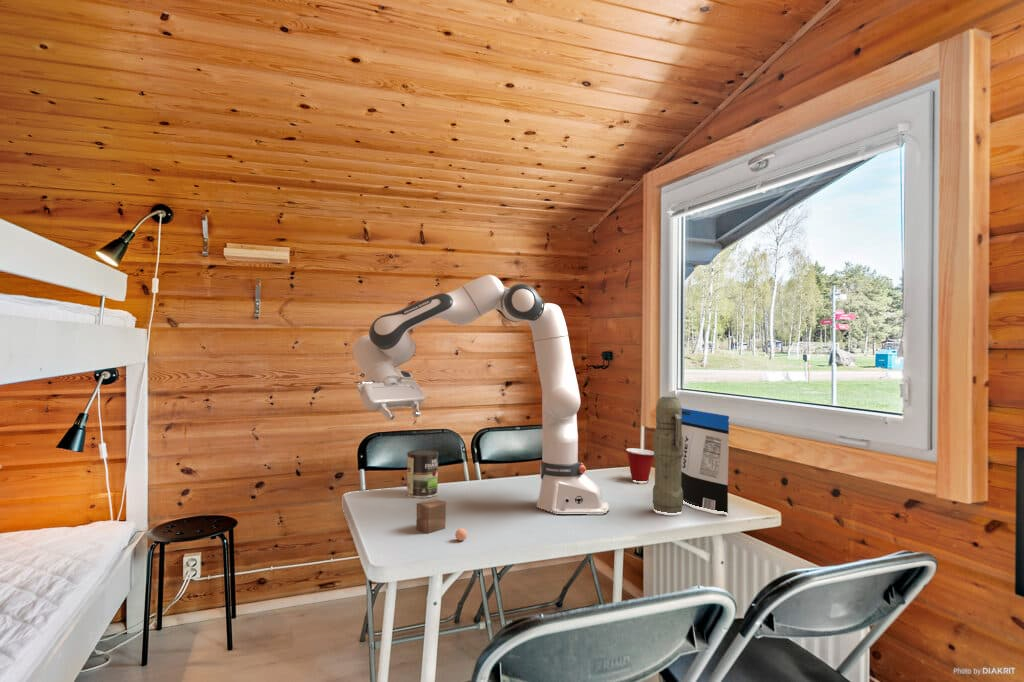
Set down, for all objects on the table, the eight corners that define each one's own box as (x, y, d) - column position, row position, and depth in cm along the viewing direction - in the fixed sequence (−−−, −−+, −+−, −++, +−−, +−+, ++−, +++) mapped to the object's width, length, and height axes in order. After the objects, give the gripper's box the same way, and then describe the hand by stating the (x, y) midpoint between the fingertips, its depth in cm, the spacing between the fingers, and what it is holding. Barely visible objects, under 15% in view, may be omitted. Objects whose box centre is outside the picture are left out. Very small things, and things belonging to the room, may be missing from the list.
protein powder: (714, 517, 175) (715, 416, 175) (666, 497, 197) (667, 408, 198) (740, 514, 178) (741, 415, 178) (689, 495, 201) (690, 407, 201)
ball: (467, 538, 152) (468, 527, 152) (465, 542, 149) (465, 530, 149) (456, 538, 152) (456, 526, 152) (454, 542, 149) (454, 530, 149)
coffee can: (444, 493, 199) (444, 451, 199) (424, 500, 190) (424, 456, 190) (420, 489, 204) (421, 448, 204) (400, 495, 195) (400, 452, 195)
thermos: (667, 505, 187) (668, 395, 188) (691, 515, 176) (693, 398, 177) (643, 507, 184) (645, 395, 184) (667, 518, 173) (669, 399, 173)
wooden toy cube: (416, 529, 159) (416, 503, 159) (433, 524, 164) (433, 498, 164) (428, 533, 156) (428, 506, 156) (445, 528, 161) (445, 501, 161)
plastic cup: (658, 485, 214) (659, 452, 214) (629, 485, 214) (629, 452, 214) (651, 479, 225) (651, 447, 225) (623, 478, 225) (623, 447, 225)
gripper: (359, 374, 165) (380, 412, 158) (415, 373, 180) (436, 407, 174) (349, 389, 167) (369, 427, 161) (406, 386, 183) (426, 421, 177)
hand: (405, 417), depth 167 cm, fingers open, 8 cm apart
